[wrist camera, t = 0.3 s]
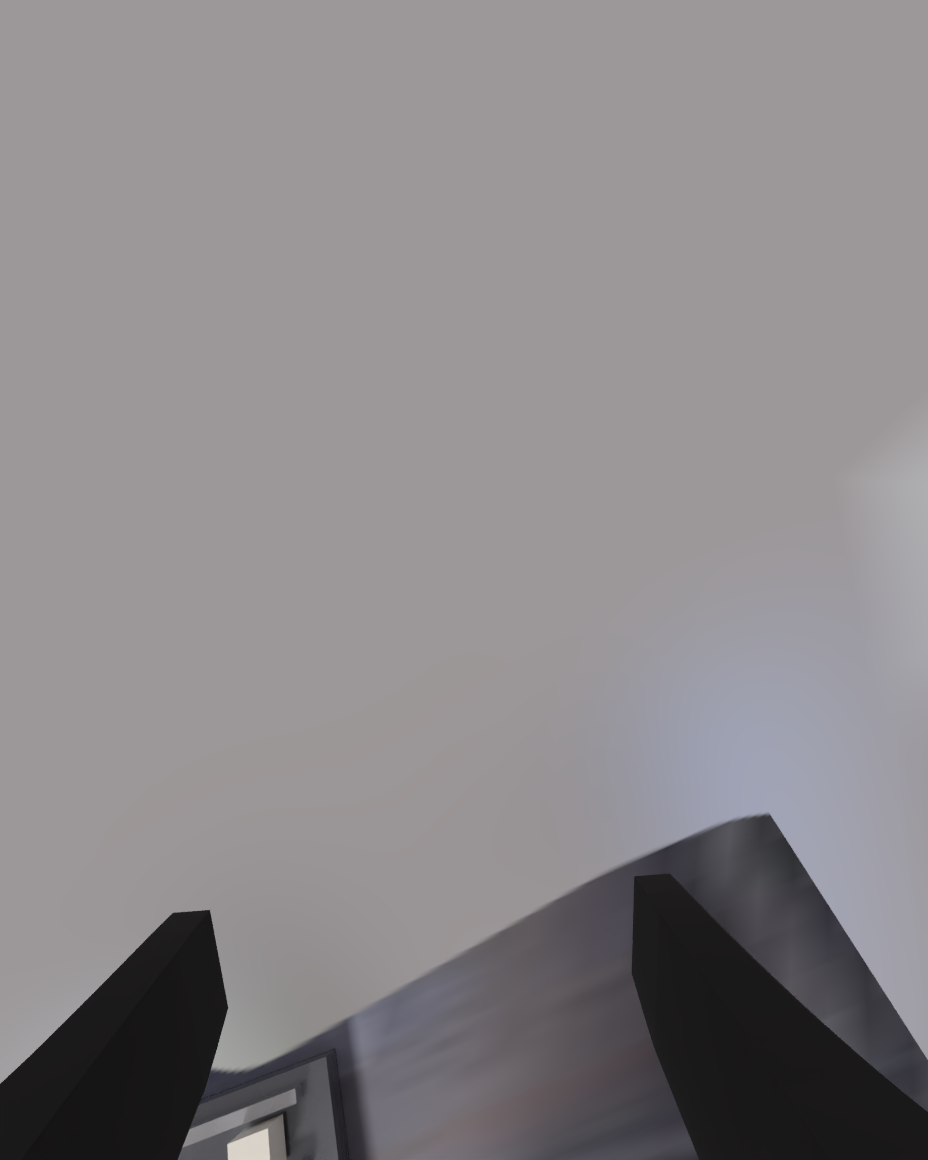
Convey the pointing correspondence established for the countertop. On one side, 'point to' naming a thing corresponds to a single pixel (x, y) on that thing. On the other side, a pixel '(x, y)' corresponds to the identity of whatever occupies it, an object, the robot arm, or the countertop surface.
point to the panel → (276, 1113)
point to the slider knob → (260, 1142)
